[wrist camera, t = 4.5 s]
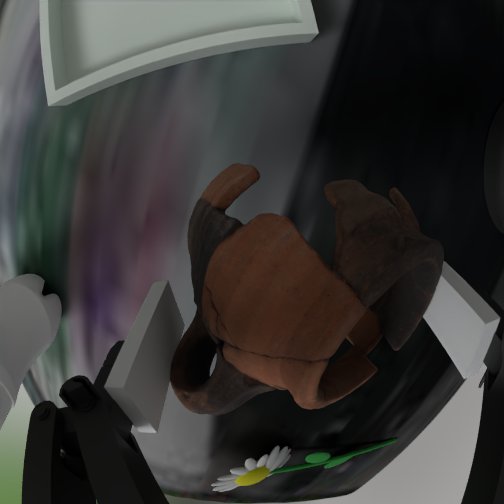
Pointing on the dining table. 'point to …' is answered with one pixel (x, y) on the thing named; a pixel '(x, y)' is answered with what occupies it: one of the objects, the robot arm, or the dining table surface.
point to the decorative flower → (275, 461)
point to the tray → (154, 37)
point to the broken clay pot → (297, 296)
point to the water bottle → (23, 332)
